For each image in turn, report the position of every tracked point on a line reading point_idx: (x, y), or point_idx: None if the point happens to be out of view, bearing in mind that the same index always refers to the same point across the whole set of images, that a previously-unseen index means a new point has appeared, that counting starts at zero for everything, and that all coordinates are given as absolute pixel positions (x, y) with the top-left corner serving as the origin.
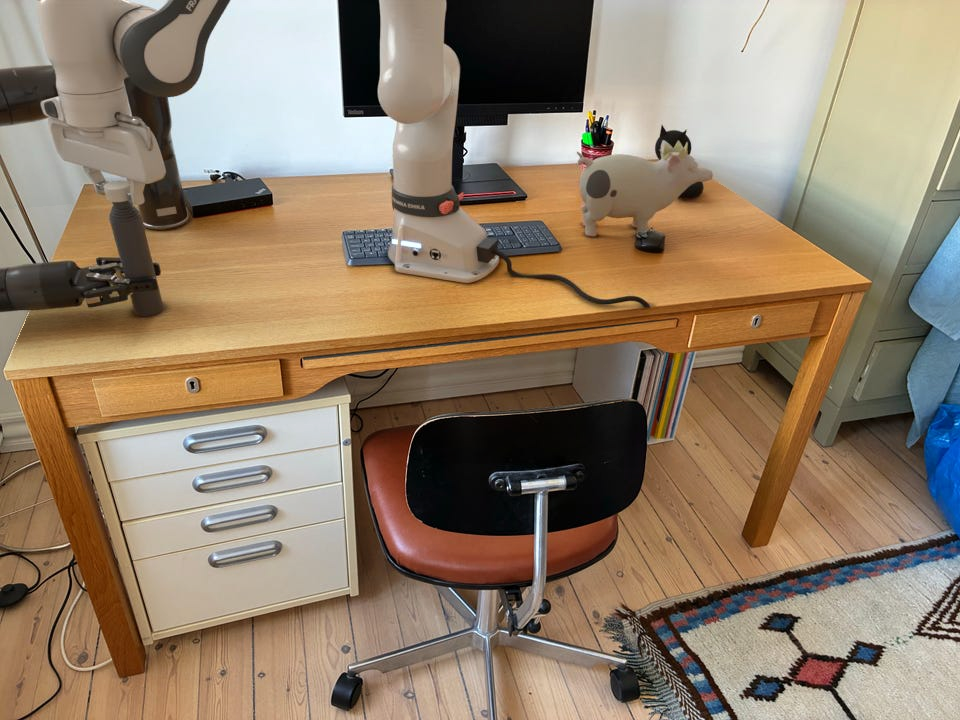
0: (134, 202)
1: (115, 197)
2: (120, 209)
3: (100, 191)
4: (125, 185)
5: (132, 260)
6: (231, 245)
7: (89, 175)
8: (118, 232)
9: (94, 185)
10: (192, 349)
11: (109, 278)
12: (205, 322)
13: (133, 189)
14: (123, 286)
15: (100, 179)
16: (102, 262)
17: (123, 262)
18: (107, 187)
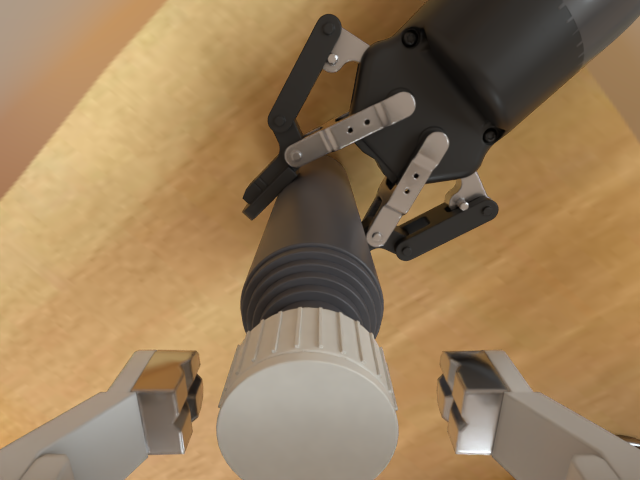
0: (132, 357)
1: (255, 336)
2: (282, 308)
3: (457, 361)
4: (248, 456)
5: (280, 202)
6: (392, 463)
7: (576, 434)
8: (295, 226)
9: (515, 381)
10: (82, 113)
11: (334, 126)
12: (163, 213)
13: (43, 426)
14: (269, 123)
15: (512, 446)
16: (463, 201)
17: (316, 187)
18: (320, 377)
